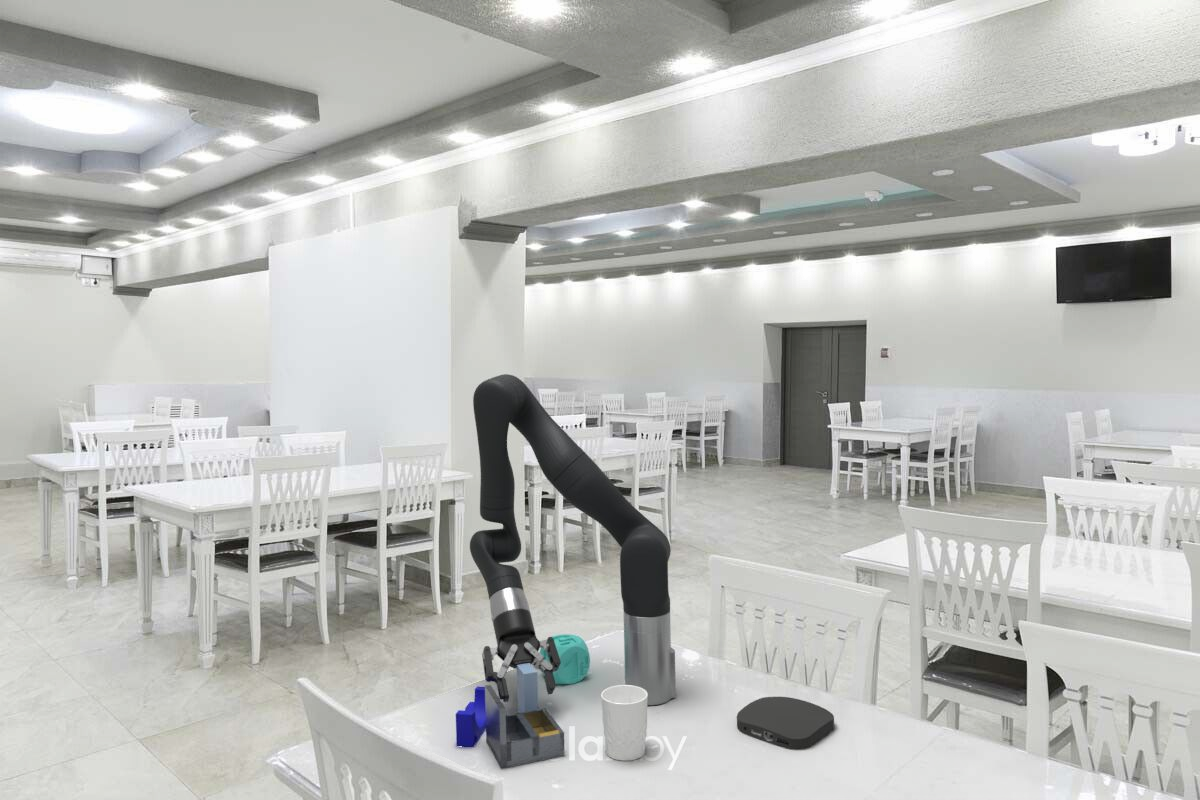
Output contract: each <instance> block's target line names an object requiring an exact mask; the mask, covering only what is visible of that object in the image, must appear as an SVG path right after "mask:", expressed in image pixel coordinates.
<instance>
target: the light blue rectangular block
mask: <svg viewBox="0 0 1200 800" xmlns="http://www.w3.org/2000/svg"><path fill="white" fill-rule="evenodd" d="M516 689H517V691H516V692H517V693H516V694H517V697H516V698H517V713H522V712H527V711H533V710H538V709H539V692H538V671H537V669H536V668H535V667H534V666H532V665H531V664H530V663H525V664H518V665H517V668H516Z"/></svg>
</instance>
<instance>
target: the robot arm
mask: <svg viewBox="0 0 1200 800" xmlns="http://www.w3.org/2000/svg"><path fill="white" fill-rule="evenodd" d="M472 399H473V400H472V402H473V403H472V405H473V414H474V421H475V427H476V435H477V436H476V437H477V443H478V444H477V445H478V453H479V467H480V484H479V485H480V491H479V515H480V517H481V518H482V519H483V520H484V521H486V522H490V523H497V524H500V525H501V524H502V528H495V529H494V528H493V529H482V530H478V531H476V532H475V533H473V535H472V536H471V538H470V541H469V551H470V555H471V558H472V560H473V561H474V564H475V566H477V568H478V570H479V571H480V574H481V576H482V578H483V580H484V582H485V584H486V590H487V594H488V599H489V608H490V619H491V622H492V624H493V625H492V626H493V631H494V634H495V641H496V644H497V647H490V646H489V645H486V646H484V648H483V651H482V654H481V655H482V656H481V657H482V664H483V670H484V671H483V672H484V673H483V674H484V679H485V681H486V682H488V683H490V682H493V683H495V684H496V688H497V693H498V697H499V699H500V700H502V701H503V702H504V703H506V702H509V699H510V693H509V689H508V686H507V685H508V683H507V680H506V679H507V678H506V677H505V676H506V674H507V673H508V670H509V668H512V669H513V670H514V669H517V665H518V664H525V663H530V664H531V665H532V666H533V668H534V669H535V670H538V671H540V672H541V673H542V674H543V673H544V674H545V675H543V679H544V683H545V688H546V692H547V695H552V694H553V693H554V691H555V689H556V685H557V684H556V683H555V679H554V675H553V672H554V671H557V670H558V668H559V666H560V664H561V661H560V658H559V655H558V652H557V649H556V645H555V642H554V639H553V638H552V636H548V637H547V639H544V640H543V639H542V640H539V639H538V638H537V636H536V631H535V627H534V623H533V618H532V614H531V610H530V606H529V602H528V599H527V597H526V594H525V590H524V587H523V582H522V578H521V574H520V572H519V570H518V569H517V568H516V567H515V566H513V565H509V564H503V563H511V562H514V561H516V560H517V559H518V558H519V557H520V555H521V552H522V542H521V538H520V534H519V531H518V528H517V522H516V517H515V488H516V487H515V476H514V470H513V468H512V463H511V461H510V457H509V452H508V433H509V426H510V424H511V426H513V427H514V428H515V429H516V430H517V431H518V432H519V433H520V434H521V436H523V437H524V439H526V441H527V442H528V444H529V446H530V447H531V449H532V451H533V454H534V455H535V458H536V461H537V463H538V465H539V467H540V470H541V471H542V473H543V475H544V476H545V478H546V480H547V481H548V482H549V483H550V484H551V485H552V486H553V487H554V489H556V491H558V492H559V494H560V495H561V496H562V497H563V498H564V499H565V501H566V500H567V502H568V503H570V504H571V505H572V506H573V507H575V508H576V509H577V510H579V511H580V512H582V513H583V514H585V515H587V516H588V517H590V518H591V519H593V520H594V521H595V522H597V523H598V524H600V525H601V526H602V527H603V528H605V530H606V531H607V532H608V533H609V534H610V535H611V536H612V538H613V539H614V540H615V541H616V542H617V544H618V545H619V546H620V548H621V549H620V555H619V569H620V570H619V571H620V595H621V599H622V603H623V605H622V607H623V608H622V609H623V645H624V646H623V648H624V649H623V650H624V651H623V652H624V660H623V661H624V685H632V686H637V687H640V688H643V689H644V690H646V692H647V693H648V700H647V706H657V705H662V704H665V703H667V702H669V701H670V700H672V699H674V698H676V696H677V693H676V691H677V690H676V689H677V688H676V686H677V685H676V683H677V682H676V650H675V649H674V648H673V647H672V640H671V639H672V638H671V636H672V633H671V630H672V629H671V598H670V593H669V570H668V569H669V568H668V566H669V565H668V563H669V560H670V557H671V551H672V550H671V549H672V548H671V543H670V541H669V539H668V537H667V535H666V534H665V533H664V532H663V531H662V530H661V529H660V528H659V527H658V526H656V525H655V524H654V523H653V522H652V521H651V520H649V519H648V518H647V517H646V516H645V515H644V514H642V513H641V512H640V511H639V510H638V509H637V508H635V506H634V505H632V504H631V502H629V501H628V499H626V497H625V496H624V494H622V492H621V491H620V490H619V489H618V487H617V486H616V485H615V484H614V483H613V482H612V481H611V479H610V478H609V477H608V476H607V475H606V474H605V473H604V472H603V470H602V469H601V468H600V467H599V465H598V464H597V463H595V461H594V460H593V459H592V458H591V457H590V456H589V455H588V454H587V453H586V452H585V451H584V450H583V449H582V448H581V446H580V445H578V444H577V443H576V442H575V441H574V440H573V439H572V438H571V436H570V435H568V433H567V432H566V431H565V430H564V429H563V428H562V427H561V426H560V425H559V424H558V423H557V422H556V421H555V420H554V419H553V418H552V417H551V415H550V414H549V413H548V411H546V410H545V408H544V407H543V405H542V404H541V402H540V401H539V400H538V399H537V397H536V396H535V395H534V393H532V391H531V389H530V388H529V387H528V386H527V385H526V384H525V382H523V380H521V379H520V378H519V377H517V376H515V375H512V374H507V373H506V374H500V375H496V376H494V377H491V378H488V379H485V380H484V381H482V382H481V383H479V384H478V385H477V387H476V388H475V391H474V393H473V396H472ZM541 648H543V650H544V651H545V652H547V653H548V657H549V660H550V663H551V664H550V663H549V662H548V661H547V660H545V658H544V656H543V655H542V654H540V649H541ZM495 656H497V657H498V658H500V659H501V660H502V661H503V662H502V664H501V666H500V668H499V670H498V672H497V671H494V665H493V660H494V659H495Z"/></svg>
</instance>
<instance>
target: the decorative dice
mask: <svg viewBox="0 0 1200 800" xmlns="http://www.w3.org/2000/svg"><path fill="white" fill-rule="evenodd" d="M551 637H552V638H553V639H554V642H555V645H556V649H557V652H558V655H559V658H560V661H561V664H560V666H559V668H558V670H557V671H554V672H553V675H554V679H555V683H556V685H558V684H568V685H573V684H577V683H579V682H580V681H582V680H583V679H584V678H585V677H586V675H587V674H588V672H589V670H590V666H591V658H590V657H591V656H590V651H589V648H588V645H587V643H586V642H585V640H584V639H583V638H582V637H581V636H579V635H575V634H569V633H568V634H565V633H564V634H557V635H556V634H555V635H553V636H551ZM539 653H540V654H542V655H543V656H544V658H545V660H547V661H548V662H549V663H550V660H549V657H548V653H547V652H545V651H544V650H543V648H539ZM550 664H551V663H550ZM542 675H543V676H544V675H545V674H544V673H542Z"/></svg>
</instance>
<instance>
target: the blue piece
mask: <svg viewBox="0 0 1200 800" xmlns="http://www.w3.org/2000/svg"><path fill="white" fill-rule="evenodd" d="M492 688H493V689H494V687H493V686H492ZM473 699H474V700H473V701H469V702H468V704H466V706H465V708H464V710H458V709H457V712H456V713H455V733H456V735H455V736H456V737H455V738H456V739H455V740H456V747H457V746H462V747H461V748H469V747H473V748H474V747H475V746H476V744H477V743H478V742H479V740H480V739H481V737H482V735H483V734H484V732H486V711H485V686H476V687H475V688H474V698H473Z"/></svg>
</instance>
